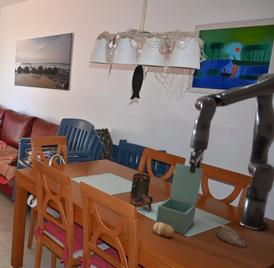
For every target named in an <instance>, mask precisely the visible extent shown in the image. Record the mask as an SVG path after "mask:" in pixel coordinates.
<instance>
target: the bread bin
mask: <svg viewBox="0 0 274 268" xmlns="http://www.w3.org/2000/svg"><path fill="white" fill-rule="evenodd" d="M196 209H197V204H194V203H190V202H187V201H183V200H180V199H176V198H173V197H169V198H167V199H166V200H164V201H163V202H162V203H160V204H158V206H157V213H156V219H155V223H157V222H161V223H164V224H167V225H170V226H171V227H172V228H173V229H174V233H178V234H181V235H184V234H185V233H186V231H187V230H188V229H190V228H191V226H192V225H193V224H194V219H195V214H196Z"/></svg>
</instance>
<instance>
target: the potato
mask: <svg viewBox="0 0 274 268" xmlns="http://www.w3.org/2000/svg"><path fill="white" fill-rule="evenodd" d="M152 227H153V231H154V232H155V233H156V234H158V235H160V236H164V237H165V238H170V237H173V235H174V233H175V231H174V229H173V228H172V227H171V226H170V225H167V224H164V223H161V222H157V223H156V222H155V223H154V224H153V226H152Z"/></svg>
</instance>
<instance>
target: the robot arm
mask: <svg viewBox="0 0 274 268" xmlns="http://www.w3.org/2000/svg"><path fill="white" fill-rule="evenodd" d="M252 98H253V99H254V98H256V102H255V103H256V104H255V114H254V122H253V130H252V132H253V134H252V143H251V152H250V156H249V161H248V164H247V165H248V166H247V171H248V173H249V175H250V176H251V177H252V179H251V182H250V184H248V185H247V186H246V190H245V194H244V200H243V204H242V209H241V215H240V220H239V224H240V225H241V226H243V227H245V228H246V229H249V230H254V231H255V230H256V231H262V228H263V227H264V229H266V230H267V229H268V228H269V224H268V219H266V218H265V216H266V208H267V205H268V199H269V195H270V192H271V191H272V189H273V187H274V166H273V165H272V164H270V163H269V152H270V148H272V145H273V143H274V102H273V100H274V72H273V73H271V72H270V73H263V74H261V75H260V76H259V77H258V78H257V80H256V82H255V83H251V84H246V85H241V86H237V87H231V88H229V89H226V90H223V91H220V92H216V93H212V94H211V93H210V94H207V95H203V96H199V97H198V98H197V99H196V100H195V101H194V107H195V109H196V110H197V111H199V114H198V116H196V118H194V122H193V129H192V132H191V137H190V142H189V143H190V144H189V147H190V148H191V149H193V151H191V152H190V157H189V162H188V163H189V166H190V173H195V169H196V168H200V169H201V163H202V162H203V161H204V153H205V151H206V150H207V149H208V146H209V140H210V132H211V131H210V130H211V125H212V121H213V119H214V116H215V115H216V111H217V108H218V107H219V108H220V107H221V108H222V107H227V106H231V105H234V104H237V103H240V102H244V101H246V100H250V99H252Z"/></svg>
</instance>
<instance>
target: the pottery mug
mask: <svg viewBox="0 0 274 268" xmlns="http://www.w3.org/2000/svg"><path fill="white" fill-rule="evenodd" d="M144 202H145V204H146V206H147V207H146V211H147V212H150V211H152V204H153V202H154V199H153V197H152V196H151V195H149V196H148V195H147V196H146V195H145V194H141V195H138V196H135V197H134V198H132V205H135V206H138V204H141V205H143V204H144Z"/></svg>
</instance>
